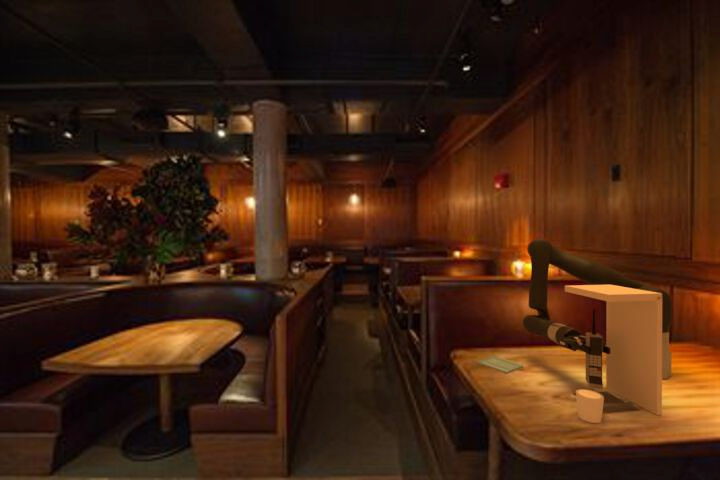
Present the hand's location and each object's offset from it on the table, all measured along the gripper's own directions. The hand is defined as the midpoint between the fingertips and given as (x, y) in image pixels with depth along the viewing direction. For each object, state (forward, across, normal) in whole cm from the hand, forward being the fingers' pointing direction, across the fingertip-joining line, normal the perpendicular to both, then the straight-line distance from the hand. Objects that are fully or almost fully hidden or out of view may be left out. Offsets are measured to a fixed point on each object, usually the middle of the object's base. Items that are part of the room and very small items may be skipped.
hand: (600, 351), depth 108 cm
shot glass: (+10, -12, +16) cm, 22 cm away
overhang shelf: (+2, +2, +16) cm, 16 cm away
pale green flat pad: (-31, -17, +17) cm, 40 cm away
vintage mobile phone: (-3, 0, +12) cm, 12 cm away
